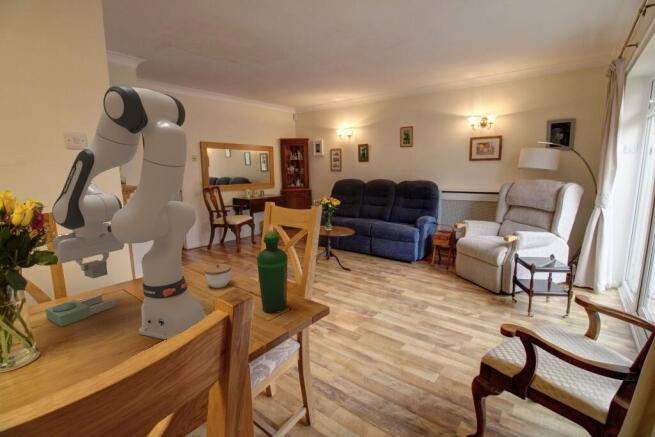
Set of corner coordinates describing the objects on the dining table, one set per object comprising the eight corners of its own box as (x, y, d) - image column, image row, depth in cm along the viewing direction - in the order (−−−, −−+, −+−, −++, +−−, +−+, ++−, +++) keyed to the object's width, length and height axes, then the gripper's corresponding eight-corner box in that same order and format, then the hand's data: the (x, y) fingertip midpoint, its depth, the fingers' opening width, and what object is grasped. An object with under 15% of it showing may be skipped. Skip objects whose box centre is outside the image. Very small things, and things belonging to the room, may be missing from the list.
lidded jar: (216, 279, 139) (215, 259, 137) (237, 282, 136) (236, 261, 134) (199, 288, 129) (198, 267, 127) (222, 291, 126) (220, 269, 124)
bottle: (295, 305, 113) (293, 230, 108) (275, 318, 104) (271, 236, 99) (273, 298, 119) (270, 226, 114) (252, 310, 110) (248, 232, 105)
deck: (115, 306, 114) (114, 296, 113) (62, 326, 100) (59, 314, 99) (100, 300, 119) (98, 290, 118) (47, 318, 105) (45, 307, 105)
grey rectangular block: (107, 274, 112) (106, 262, 112) (93, 278, 108) (91, 266, 108) (99, 271, 115) (97, 260, 114) (84, 275, 111) (83, 263, 111)
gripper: (55, 237, 99) (63, 278, 101) (124, 225, 116) (128, 261, 119) (47, 235, 102) (54, 275, 104) (114, 223, 119) (119, 258, 122)
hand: (94, 267), depth 112 cm, fingers closed on grey rectangular block, 4 cm apart
